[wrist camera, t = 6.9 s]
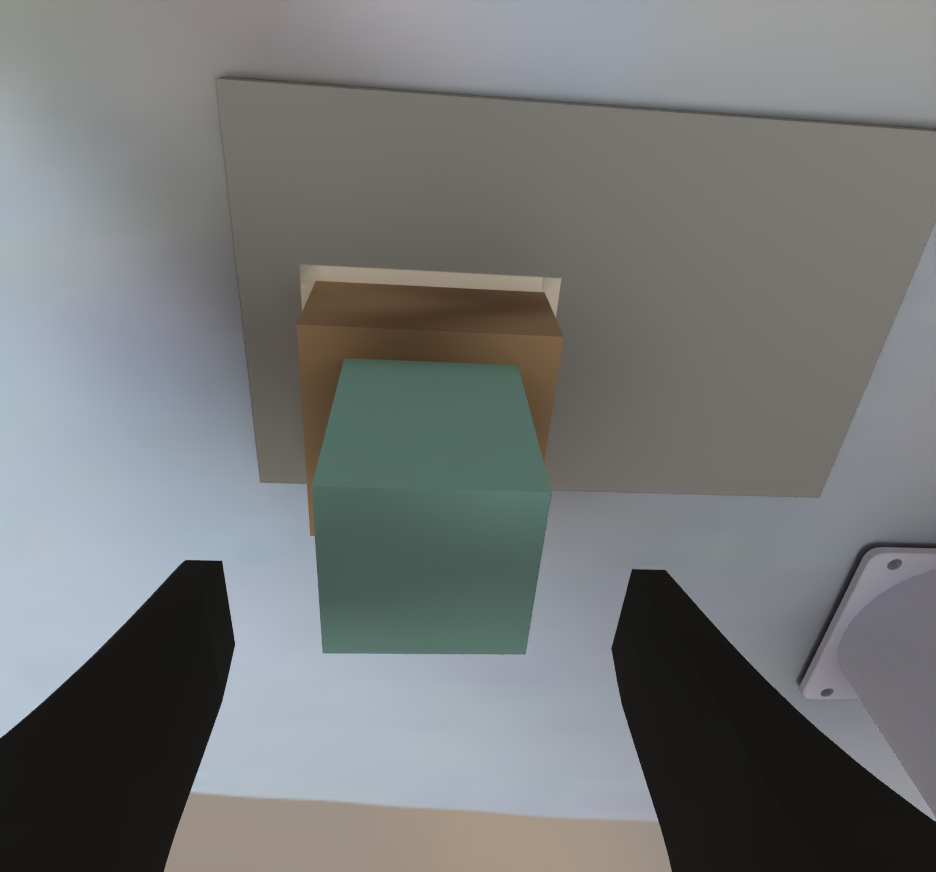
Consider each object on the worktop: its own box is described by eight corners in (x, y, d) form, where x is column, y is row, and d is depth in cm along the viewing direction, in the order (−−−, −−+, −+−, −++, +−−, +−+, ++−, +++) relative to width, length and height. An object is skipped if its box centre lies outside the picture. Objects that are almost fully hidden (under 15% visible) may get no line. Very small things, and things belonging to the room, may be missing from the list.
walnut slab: (544, 292, 18) (563, 336, 15) (519, 477, 21) (532, 540, 18) (315, 280, 17) (296, 324, 15) (325, 472, 20) (310, 535, 18)
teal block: (517, 365, 16) (551, 492, 11) (502, 502, 18) (525, 654, 13) (344, 358, 15) (311, 486, 11) (348, 499, 17) (322, 653, 13)
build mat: (956, 131, 17) (973, 134, 16) (810, 487, 23) (820, 498, 22) (222, 77, 15) (214, 79, 15) (264, 471, 21) (259, 483, 21)
